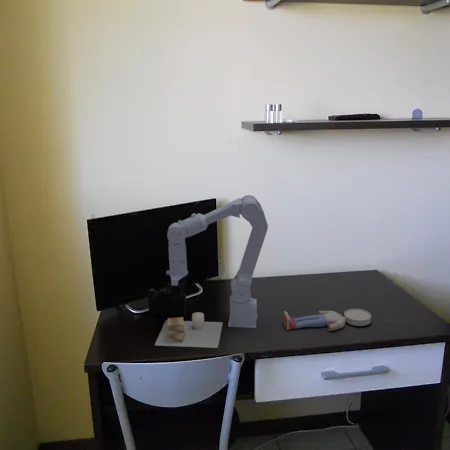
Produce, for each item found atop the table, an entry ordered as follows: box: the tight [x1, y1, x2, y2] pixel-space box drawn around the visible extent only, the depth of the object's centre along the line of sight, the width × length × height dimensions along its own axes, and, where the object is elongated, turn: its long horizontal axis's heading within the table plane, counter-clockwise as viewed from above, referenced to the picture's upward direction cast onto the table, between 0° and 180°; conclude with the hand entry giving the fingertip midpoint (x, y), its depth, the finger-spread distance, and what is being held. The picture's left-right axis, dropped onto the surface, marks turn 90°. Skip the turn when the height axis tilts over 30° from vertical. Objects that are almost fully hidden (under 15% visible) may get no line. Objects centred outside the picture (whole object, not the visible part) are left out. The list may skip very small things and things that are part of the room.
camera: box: [147, 287, 187, 318], centre depth 176 cm, size 14×11×10 cm
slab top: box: [167, 317, 185, 334], centre depth 156 cm, size 5×5×3 cm
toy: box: [282, 308, 372, 332], centre depth 166 cm, size 6×13×30 cm
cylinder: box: [191, 311, 205, 330], centre depth 164 cm, size 4×4×4 cm
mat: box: [154, 319, 224, 349], centre depth 160 cm, size 20×17×1 cm
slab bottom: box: [167, 326, 185, 342], centre depth 157 cm, size 5×5×3 cm
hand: (179, 297), depth 165 cm, fingers open, 7 cm apart
